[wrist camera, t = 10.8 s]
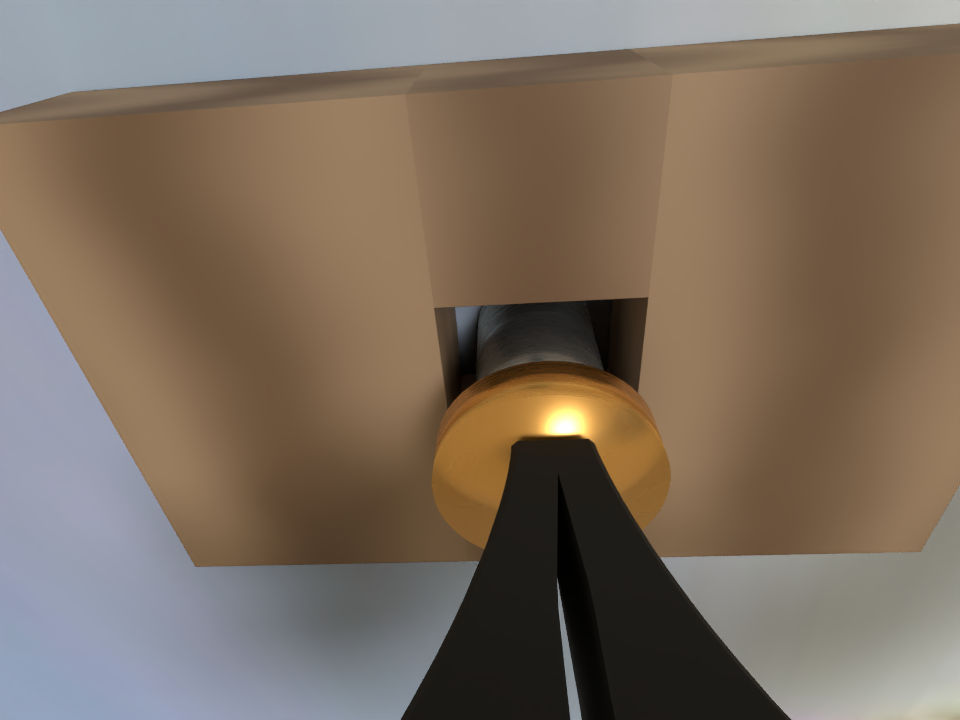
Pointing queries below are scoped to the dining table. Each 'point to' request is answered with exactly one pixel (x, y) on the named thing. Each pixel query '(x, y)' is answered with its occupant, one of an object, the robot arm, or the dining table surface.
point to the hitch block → (516, 281)
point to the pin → (542, 415)
